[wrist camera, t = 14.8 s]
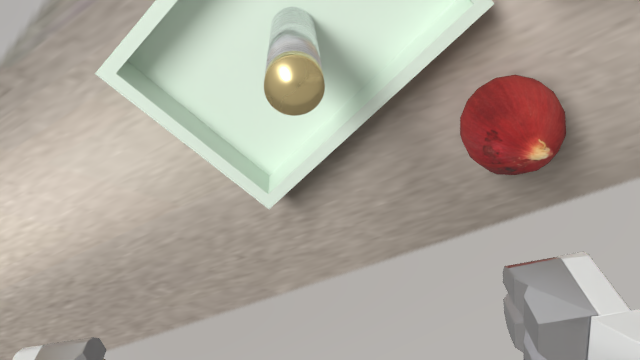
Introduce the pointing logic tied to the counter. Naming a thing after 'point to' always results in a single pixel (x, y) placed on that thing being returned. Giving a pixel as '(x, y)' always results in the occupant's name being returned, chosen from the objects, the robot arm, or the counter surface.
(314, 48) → the steel pin
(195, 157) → the counter surface
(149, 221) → the counter surface
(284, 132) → the tray
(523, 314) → the robot arm
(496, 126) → the onion
